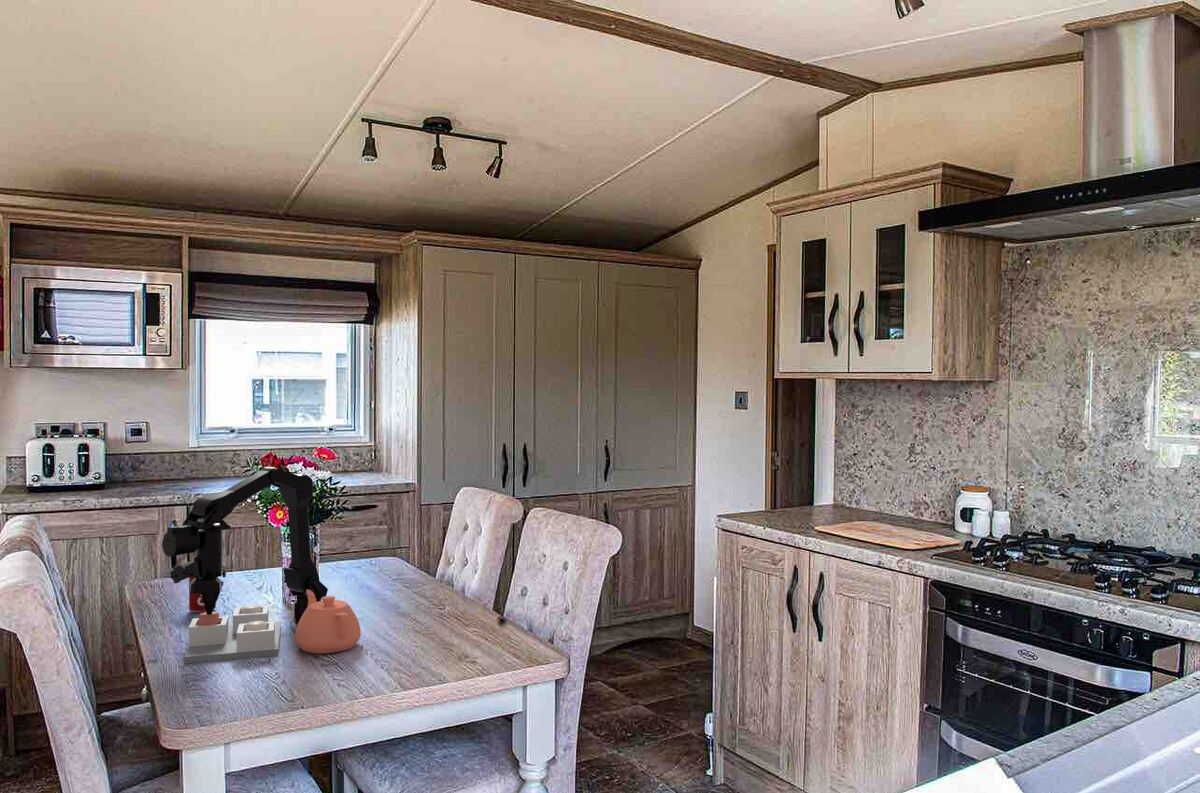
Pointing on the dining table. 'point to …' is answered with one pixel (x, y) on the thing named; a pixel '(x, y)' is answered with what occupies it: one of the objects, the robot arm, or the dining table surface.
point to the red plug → (209, 618)
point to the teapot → (327, 626)
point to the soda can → (196, 600)
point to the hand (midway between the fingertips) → (209, 614)
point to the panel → (233, 638)
